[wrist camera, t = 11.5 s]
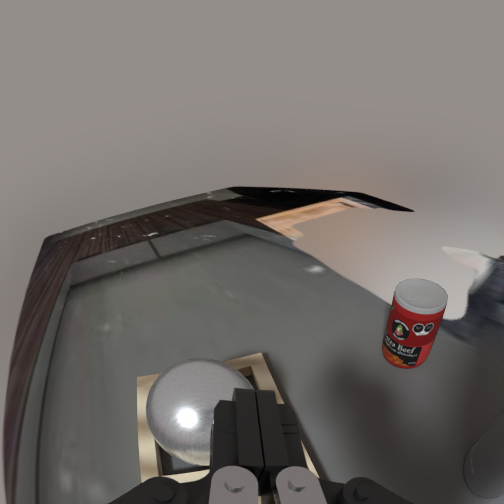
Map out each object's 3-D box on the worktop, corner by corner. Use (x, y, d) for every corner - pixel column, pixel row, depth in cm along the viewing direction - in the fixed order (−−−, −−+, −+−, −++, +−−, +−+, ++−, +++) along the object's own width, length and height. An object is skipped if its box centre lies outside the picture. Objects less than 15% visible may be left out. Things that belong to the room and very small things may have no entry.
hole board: (336, 521, 19) (339, 518, 19) (159, 559, 16) (152, 557, 15) (261, 362, 42) (261, 352, 41) (141, 386, 38) (137, 377, 38)
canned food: (371, 351, 42) (383, 291, 37) (402, 329, 45) (416, 271, 40) (407, 378, 35) (428, 318, 31) (436, 352, 39) (457, 293, 34)
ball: (301, 425, 24) (262, 364, 36) (187, 383, 20) (177, 320, 32) (231, 494, 24) (211, 427, 36) (125, 466, 20) (130, 394, 32)
